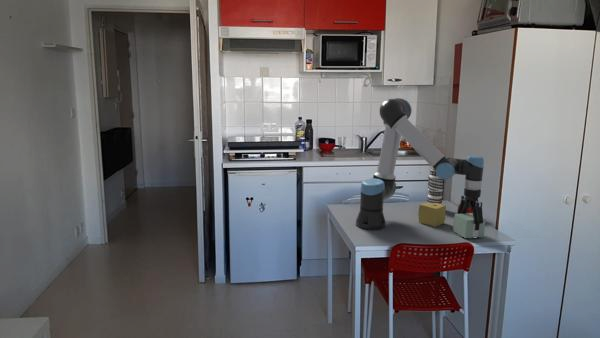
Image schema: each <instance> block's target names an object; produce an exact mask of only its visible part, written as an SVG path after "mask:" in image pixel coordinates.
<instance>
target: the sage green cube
mask: <svg viewBox="0 0 600 338" xmlns="http://www.w3.org/2000/svg"><path fill="white" fill-rule="evenodd" d="M486 221H487V220H486V218H484V217H483V223H481V224H480V225H479V231H478V236H475V237H479V238H484V237H485V230H486ZM473 223H474V218H473V213H466V214H458V213H454V217H453V227H452V228H453V229H452V231H453V232H454V233H456V235H457V234H459V235H461V236H462V237H461V238H463V237H464V238H463V239H467V238H474V237H473V236H472V231H473Z"/></svg>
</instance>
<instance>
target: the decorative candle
mask: <svg viewBox="0 0 600 338" xmlns="http://www.w3.org/2000/svg"><path fill="white" fill-rule="evenodd" d="M429 170H430V171H429V176H428V177H427V178H428V179H427V180H428V181H427V182H428V184H427V185H428V186H427V191H428V194H427V197H426V203H438V204H443V191H444V186H445V185H444V183H445V181H446V179H440V178H439V177H438V176H437V174H436V171H435V169H434V168H433V167H432V166H431V168H430V169H429Z"/></svg>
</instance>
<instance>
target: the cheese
mask: <svg viewBox="0 0 600 338" xmlns="http://www.w3.org/2000/svg"><path fill="white" fill-rule="evenodd" d="M446 211H447V205H445V204H443V203H441V204H438V203H427V202H424V203H420V204H419V206H418V223H420V224H424V225H427V226H432V227H438V226H441V225H442V224H445V221H446Z"/></svg>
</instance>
